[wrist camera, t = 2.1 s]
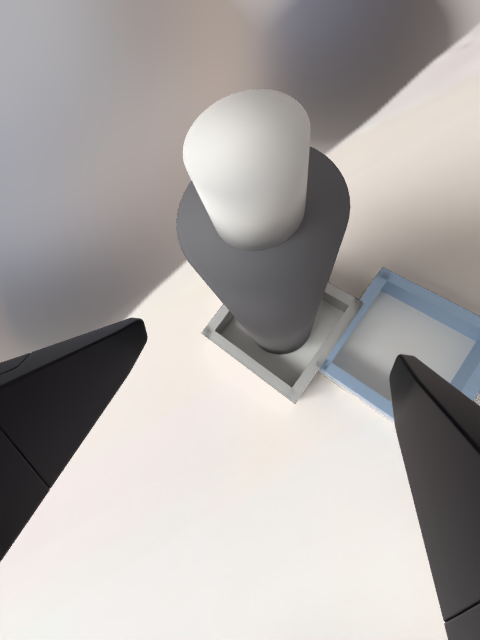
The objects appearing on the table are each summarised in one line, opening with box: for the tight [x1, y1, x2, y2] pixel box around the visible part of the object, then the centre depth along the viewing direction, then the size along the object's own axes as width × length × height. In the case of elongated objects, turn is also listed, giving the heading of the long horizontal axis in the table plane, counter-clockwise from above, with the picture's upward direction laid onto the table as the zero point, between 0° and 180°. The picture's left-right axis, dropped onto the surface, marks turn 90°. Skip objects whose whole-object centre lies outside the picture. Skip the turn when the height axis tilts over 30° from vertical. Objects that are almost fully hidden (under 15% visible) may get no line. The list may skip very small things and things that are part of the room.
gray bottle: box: [177, 89, 350, 355], centre depth 12 cm, size 4×4×15 cm
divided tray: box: [202, 267, 480, 424], centre depth 18 cm, size 11×16×2 cm
